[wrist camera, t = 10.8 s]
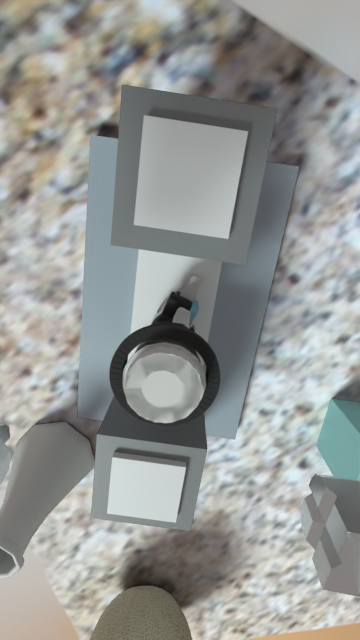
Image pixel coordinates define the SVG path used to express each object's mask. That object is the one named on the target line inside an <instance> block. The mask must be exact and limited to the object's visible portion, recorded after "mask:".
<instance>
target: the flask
mask: <svg viewBox="0 0 360 640" xmlns="http://www.w3.org/2000/svg"><path fill="white" fill-rule="evenodd" d="M94 467H95V459H94V456H93V452H92V449H91V445H90V442H89V440H88V439H87V438H85V437H84V436H83V435H82V434H80V433H79V432H78V431H76V430H75V429H74V428H73V427H71V426H70V425H69V424H67V423H66V422H56V423H48V424H39V425H34V426H33V427H32V428H31V429H30V430H29V431H28V432H27V433H26V434H25V435H24V436H23V437H22V438H21V439H20V440H19V441H18V442H17V445H16V449H15V453H14V458H13V463H12V468H11V473H10V477H9V481H8V485H7V489H6V493H5V497H4V501H3V505H2V507H1V509H0V578H10V577H11V576H13V575H14V574H15V573H16V572H17V571H19V570H20V569H21V568H22V566H23V563H24V558H23V554H24V551H25V549H26V547H27V546H28V544H29V542H30V540H31V538H32V536H33V535H34V533H35V532H36V531H37V529H38V528H39V526H40V525H41V524H42V522H43V521H44V519H45V518H46V517H47V515H48V514H49V513H50V512H51V511H52V510H53V509H54V508H55V507H56V506H57V505H58V504H59V502H60V501H61V500H62V499H63V498H64V497H65V496H66V495H67V494H68V493H69V492H70V491H71V490H72V489H73V488H74V487H75V486H76V485H77V484H78V483H79V482H80V481H81V480H82V479H83V478H84V477H85V476H86V475H87V474H88V473H89V472H90V471H91V470H92V469H93V468H94Z"/></svg>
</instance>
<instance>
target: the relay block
mask: <svg viewBox="0 0 360 640" xmlns="http://www.w3.org/2000/svg"><path fill="white" fill-rule="evenodd" d="M316 446H317V448H318V450H319V451H320V453H321V455H322V456H323V458H324V460H325V462H326V463H327V465H328V467H329V469H330V470H331V472H332V474H333V476H334V477H339V478H346V479H352V480H360V402H355V401H346V400H338V399H331V400H330V403H329V407H328V410H327V413H326V416H325V419H324V423H323V426H322V429H321V432H320V435H319V439H318V442H317V445H316Z"/></svg>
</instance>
